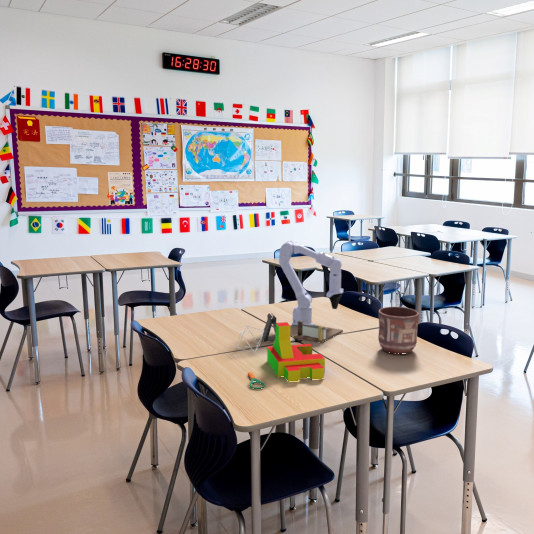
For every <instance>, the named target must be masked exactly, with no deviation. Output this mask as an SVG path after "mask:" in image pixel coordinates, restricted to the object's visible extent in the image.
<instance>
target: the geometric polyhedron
mask: <svg viewBox="0 0 534 534" xmlns="http://www.w3.org/2000/svg"><path fill="white" fill-rule="evenodd" d="M246 328H247V330H248V331H245V330H246ZM249 328H250V329H255V330H253V331H252V330H250V329H249ZM259 331H261V332H262V334H261V336H260V338H259V340H258V341H257V339H256V337H255V336H254V334H253V333H254V332H255V333H256V332H257V333H258V332H259ZM248 332H249V333H250V334H251V336H253V339H255V341H256V343H257V344H256V345H255V350H253V348H252V345H250V343H249V342H248V341H247V339H246V338H245V337H244V334H245V333H248ZM263 333H264V329H260V328H256V327H252V326H248V325H246V326H244V328H243V329H242V330H241V331H240V333H239V337H238V341H237V346H236V348H237V349H238V350H239V349H240V350H243V351H245V352H246V351H247V352H250V353H252V352H253V354H255V353H256V352H257V350H258V349H259V348H260V347H261V343H262V341H263V339H262V338H261V337H262V336H263ZM242 338H243V339H244V340H245V342H246V343H247V345H248V346H245V348H250V350H252V351H250V350H247V349H243V348H242V346H239V345H240V343H241V340H242Z"/></svg>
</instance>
